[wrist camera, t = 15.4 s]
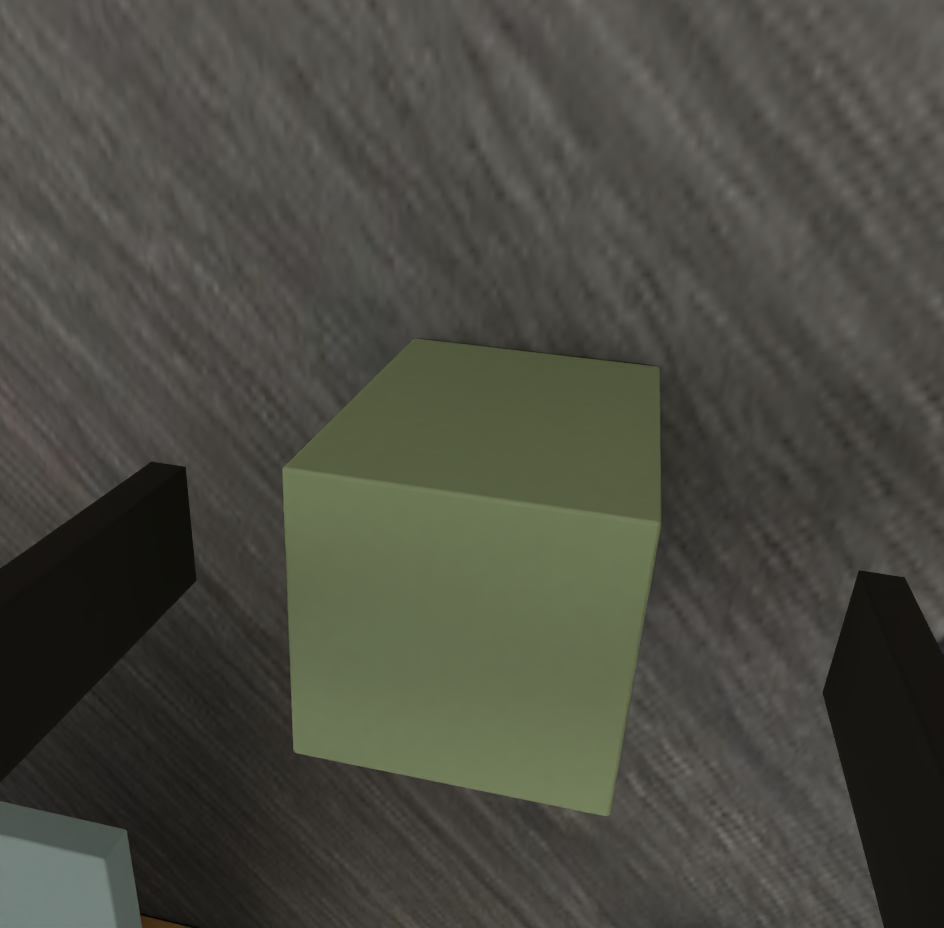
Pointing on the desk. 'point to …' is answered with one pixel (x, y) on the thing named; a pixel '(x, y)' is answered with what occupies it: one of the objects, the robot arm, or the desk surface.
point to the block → (476, 570)
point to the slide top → (64, 872)
